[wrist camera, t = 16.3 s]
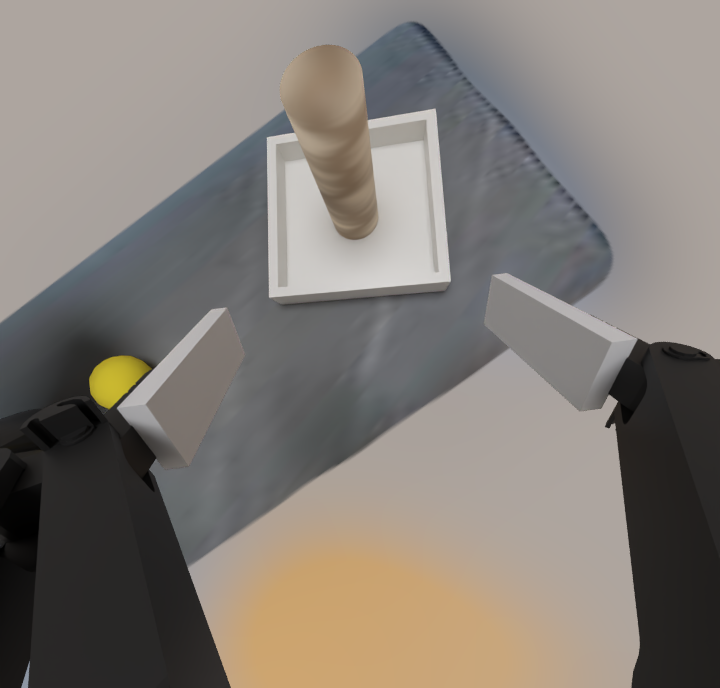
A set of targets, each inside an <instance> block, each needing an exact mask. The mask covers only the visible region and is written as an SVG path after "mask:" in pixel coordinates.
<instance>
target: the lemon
mask: <svg viewBox="0 0 720 688" xmlns="http://www.w3.org/2000/svg"><path fill="white" fill-rule="evenodd" d="M151 369H152V368H150V367H149V366H148V365H147V364H146V363H145V362H144V361H142V360H140V359H137V358H135V357H132V356H116V357H111V358H108V359H106V360H104V361H102V362H101V363H100V364H99V365H97V366H96V367H95V368H94V370H93V372H92V374H91V376H90V377H89V384H90V392H91V395H92V397H93V398H94V399H95V400H96V402H97V403H98V404H99V405H101V406H103V407H105V408H107V409H110V408H111V407H112V406H113V405H114V404H115V403H116V402H117V401H118V400H119V399H120V398H121V397H122V396H123V395H124V394H125V393H128V390H129V389H130V388H131V387H132V386H133V385H136V384H135V383H136V382H137V381H138V380H139V379H140V378H141V377H142V376H143V375H144V374H145V373H146V372H148V371H149V370H151Z"/></svg>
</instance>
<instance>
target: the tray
mask: <svg viewBox="0 0 720 688" xmlns="http://www.w3.org/2000/svg"><path fill="white" fill-rule="evenodd" d="M368 127H369V136H370V145H371V154H372V163H373V172H374V181H375V190H376V199H377V208H378V222H377V225H376V227H375V229H374V230H373V232H372V233H371V234H369V235H368V236H366V237H365V238H362V239H358V240H350V239H346V238H344V237H342V236H341V235H340V234H339V233H338V232H337V230H336V229H335V226H334V224H333V222H332V219H331V217H330V214H329V212H328V210H327V207H326V205H325V203H324V200H323V198H322V196H321V193H320V191H319V188H318V186H317V184H316V181H315V179H314V177H313V174H312V172H311V170H310V167H309V165H308V162H307V160H306V158H305V155H304V153H303V151H302V148H301V146H300V144H299V141H298V139H297V136H296V134H295V133H290V134H284V135H278V136H272V137H267V175H268V249H269V298H271V299H272V300H274V301H276V302H278V303H279V304H281V305H285V304H296V303H308V302H320V301H332V300H343V299H355V298H367V297H379V296H390V295H402V294H414V293H426V292H437V291H445V290H446V288H447V287H448V285H449V284H450V282H451V278H450V266H449V255H448V244H447V232H446V221H445V210H444V198H443V187H442V176H441V164H440V153H439V141H438V130H437V119H436V109H431V110H425V111H419V112H414V113H408V114H402V115H396V116H390V117H384V118H378V119H372V120H368Z"/></svg>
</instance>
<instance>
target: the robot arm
mask: <svg viewBox="0 0 720 688" xmlns="http://www.w3.org/2000/svg"><path fill="white" fill-rule="evenodd" d="M484 325H485V326H486V327H487V328H489V329H490V330H491V331H492V332H493V333H494V334H495V335H496V336H497V337H498V338H500V339H501V340H502V341H503V342H504V343H505V344H506V345H507V346H508V347H509V348H511V349H512V350H513V351H514V352H515V353H516V354H517V355H518V356H519V357H520V358H522V359H523V360H524V361H525V362H526V363H527V364H528V365H529V366H530V367H531V368H533V369H534V370H535V371H536V372H537V373H538V374H539V375H540V376H541V377H542V378H544V379H545V380H546V381H547V382H548V383H549V384H550V385H551V386H552V387H553V388H554V389H556V390H557V391H558V392H559V393H560V394H561V395H562V396H564V397H565V399H567V400H568V401H569V402H570V403H571V404H572V405H573V406H574V407H575V408H577V410H579V411H587V410H594V409H601V408H602V406H603V404H604V403H605V401H606V399H607V397H608V395H611V396H612V397H613V398H615V399H616V400H617V401H618V403H617V405H616V407H615V408H614V410H613V412H612V414H611V416H610V417H609V420H608V421H607V423H606V426H605V427H607V428H610V426H611V424H614V423H615V425H616V433H617V442H618V451H619V460H620V469H621V477H622V486H623V495H624V504H625V512H626V521H627V530H628V539H629V548H630V556H631V565H632V574H633V583H634V592H635V601H636V609H637V617H638V627H639V636H640V649H639V656H638V659H637V662H636V665H635V668H634V671H633V678H632V688H720V359H714V358H713V357H712V356H711V355H709V354H708V353H706V352H704V351H702V350H699V349H696V348H694V347H691V346H687V345H683V344H678V343H671V342H655V343H653V344H648V343H646V342H644V341H642V340H640V339H638V338H636V337H634V336H632V335H630V334H628V333H626V332H624V331H622V330H620V329H618V328H615V327H614V326H612V325H610V324H608V323H606V322H603V321H602V320H600V319H598V318H596V317H594V316H592V315H589V314H587V313H585V312H583V311H581V310H579V309H577V308H575V307H573V306H571V305H569V304H567V303H565V302H563V301H561V300H559V299H557V298H555V297H553V296H551V295H549V294H547V293H545V292H543V291H541V290H539V289H537V288H535V287H533V286H531V285H529V284H527V283H525V282H523V281H521V280H519V279H517V278H515V277H513V276H511V275H509V274H507V273H505V274H497V275H492V278H491V284H490V290H489V296H488V302H487V308H486V314H485V320H484ZM244 356H245V353H244V350H243V347H242V345H241V342H240V340H239V337H238V334H237V332H236V329H235V326H234V324H233V321H232V319H231V316H230V313H229V311H228V308H219V309H211V310H210V311H209V312H208V313H207V314H206V316H205V317H204V318H203V319H202V320H201V321H200V322H199V323H198V324H197V325H196V326H195V327H194V328H193V329H192V330H191V331H190V332H189V333H188V334H187V335H186V336H185V337H184V338H183V339H182V341H181V342H180V343H179V344H178V345H177V346H176V347H175V348H174V349H173V350H172V351H171V352H170V353H169V354H168V355H167V356H166V357H165V358H164V359H163V360H162V361H161V362H160V363H159V364H158V365H157V366H155V367H154V368H152V369H151V370H149V371H148V372H146V373H145V374H144V375H143V376H142V377H141V378H140V379H139V380H138V381H137V382H136V383H135V384H136V385H133V386H132V387H131V388H130V389H129V390H128V393H125V394H124V395H123V396H122V397H121V398H120V399H119V400H118V401H117V402H116V403H115V404H114V405H113V406H112V407H111V408H110V409H109V410H108V411H107V412H106V413H105V414H104V415H103V414H102V413H101V411H100V410H99V409H98V408H97V407H96V405H95V404H94V403H93V402H92V401H91V399H90V398H89V397H88V396H76V397H71V398H67V399H65V400H62V401H59V402H56V403H54V404H52V405H50V406H48V407H46V408H42V409H33V410H28V411H24V412H20V413H17V414H14V415H11V416H8V417H5V418H2V419H0V688H21V686H22V683H23V680H24V677H25V673H26V670H27V667H28V664H29V661H30V668H29V682H28V688H231V687H230V684H229V682H228V679H227V676H226V673H225V671H224V668H223V665H222V662H221V660H220V656H219V654H218V651H217V648H216V645H215V643H214V640H213V637H212V634H211V632H210V629H209V626H208V623H207V620H206V618H205V615H204V612H203V610H202V607H201V604H200V601H199V599H198V596H197V593H196V590H195V587H194V584H193V582H192V579H191V576H190V573H189V571H188V568H187V565H186V562H185V559H184V557H183V554H182V551H181V548H180V546H179V543H178V540H177V537H176V534H175V532H174V529H173V526H172V523H171V521H170V518H169V515H168V512H167V510H166V507H165V504H164V501H163V498H162V496H161V493H160V490H159V487H158V485H157V482H156V479H155V476H154V475H153V474H152V473H151V471H150V470H149V468H150V467H151V465H152V464H153V462H154V461H155V459H157V460H158V462H159V463H160V464H161V465H162V467H163V468H164V469H165V470H168V469H175V468H182V467H189V466H190V464H191V462H192V460H193V458H194V456H195V454H196V452H197V450H198V448H199V446H200V444H201V442H202V440H203V438H204V436H205V434H206V432H207V430H208V428H209V426H210V424H211V422H212V420H213V418H214V416H215V414H216V412H217V410H218V408H219V406H220V404H221V402H222V400H223V398H224V396H225V394H226V392H227V390H228V388H229V386H230V384H231V382H232V380H233V378H234V376H235V374H236V372H237V370H238V368H239V366H240V364H241V362H242V360H243V358H244Z"/></svg>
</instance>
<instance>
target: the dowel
mask: <svg viewBox="0 0 720 688" xmlns="http://www.w3.org/2000/svg"><path fill="white" fill-rule="evenodd" d="M280 97H281V101H282V103H283V106H284V108H285V110H286V113H287V115H288V118H289V120H290V122H291V125H292V127H293V129H294V132H295V134H296V136H297V139H298V141H299V144H300V146H301V148H302V151H303V153H304V155H305V158H306V160H307V162H308V165H309V167H310V170H311V172H312V174H313V177H314V179H315V181H316V184H317V186H318V188H319V191H320V193H321V196H322V198H323V200H324V203H325V205H326V207H327V210H328V212H329V214H330V217H331V219H332V222H333V224H334V226H335V229H336V230H337V232H338V233H339V234H340V235H341V236H342V237H344V238H346V239H350V240H358V239H362V238H365V237H366V236H368V235H369V234H371V233H372V232H373V230H374V229H375V227H376V225H377V222H378V208H377V199H376V190H375V181H374V172H373V163H372V154H371V145H370V136H369V127H368V118H367V109H366V100H365V91H364V82H363V74H362V68H361V65H360V63H359V61H358V59H357V58H356V57H355V56H354V55H353V53H351V52H350V51H349V50H347V49H345V48H343V47H340V46H335V45H322V46H316V47H313V48H310V49H308V50H306V51H304V52H303V53H301V54H300V55H298V56H297V57H296V58H295V59H294V60H293V61H292V62H291V63H290V64H289V66H288V67H287V68H286V70H285V72H284V74H283V76H282V79H281V83H280Z"/></svg>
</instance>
